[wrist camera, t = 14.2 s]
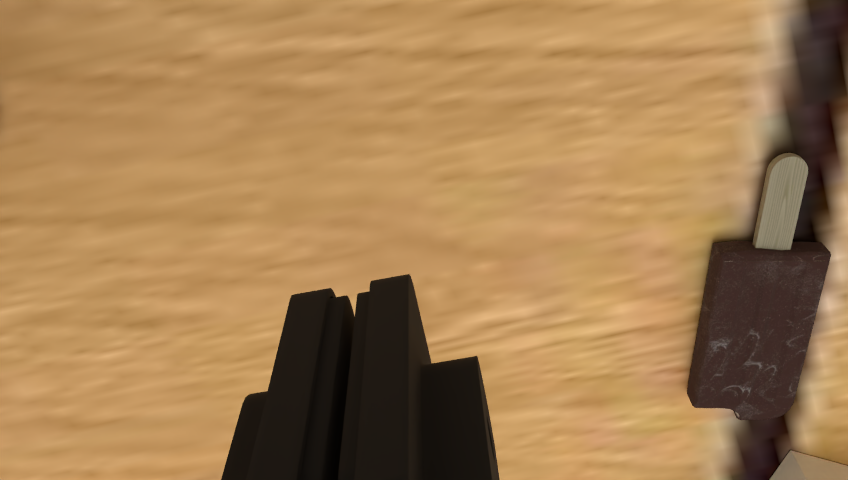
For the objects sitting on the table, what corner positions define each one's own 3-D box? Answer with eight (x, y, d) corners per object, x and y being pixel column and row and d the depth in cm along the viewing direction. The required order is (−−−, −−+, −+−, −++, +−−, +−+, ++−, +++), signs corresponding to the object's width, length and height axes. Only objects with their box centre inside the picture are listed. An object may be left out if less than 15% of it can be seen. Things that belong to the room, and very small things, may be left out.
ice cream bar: (727, 148, 38) (683, 402, 45) (739, 161, 37) (691, 422, 44) (841, 147, 38) (779, 402, 45) (857, 160, 36) (790, 421, 43)
